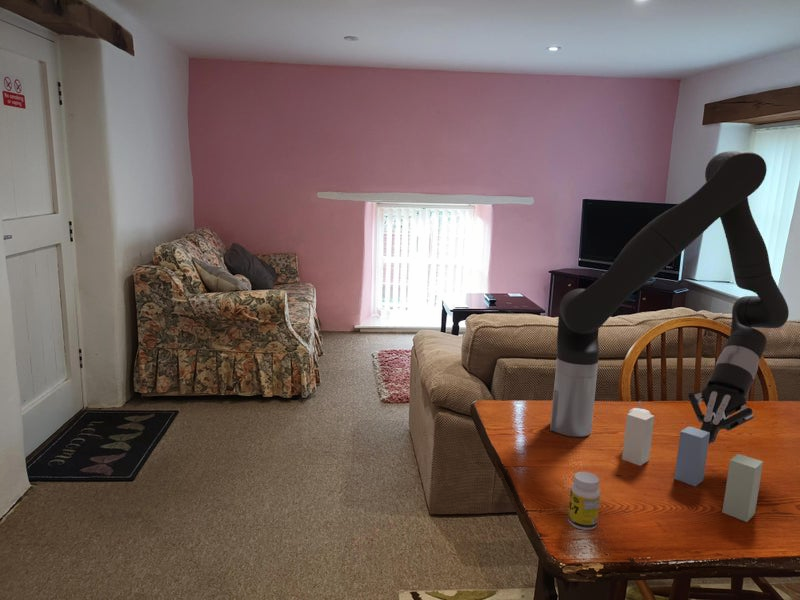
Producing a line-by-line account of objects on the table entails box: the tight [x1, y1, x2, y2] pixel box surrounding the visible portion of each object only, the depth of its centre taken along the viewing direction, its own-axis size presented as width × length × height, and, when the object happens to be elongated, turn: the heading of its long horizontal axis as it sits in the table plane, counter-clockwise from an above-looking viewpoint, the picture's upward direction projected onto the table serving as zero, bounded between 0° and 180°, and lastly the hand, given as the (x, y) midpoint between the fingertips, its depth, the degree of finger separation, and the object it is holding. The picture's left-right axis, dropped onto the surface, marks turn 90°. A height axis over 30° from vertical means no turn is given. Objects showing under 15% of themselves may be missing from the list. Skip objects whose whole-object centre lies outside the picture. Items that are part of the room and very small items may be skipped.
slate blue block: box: [674, 425, 710, 487], centre depth 116 cm, size 4×4×10 cm
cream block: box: [621, 410, 655, 467], centre depth 124 cm, size 4×4×10 cm
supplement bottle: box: [567, 471, 601, 531], centre depth 99 cm, size 5×5×8 cm
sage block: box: [721, 453, 764, 523], centre depth 104 cm, size 4×4×10 cm
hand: (704, 441), depth 119 cm, fingers closed
